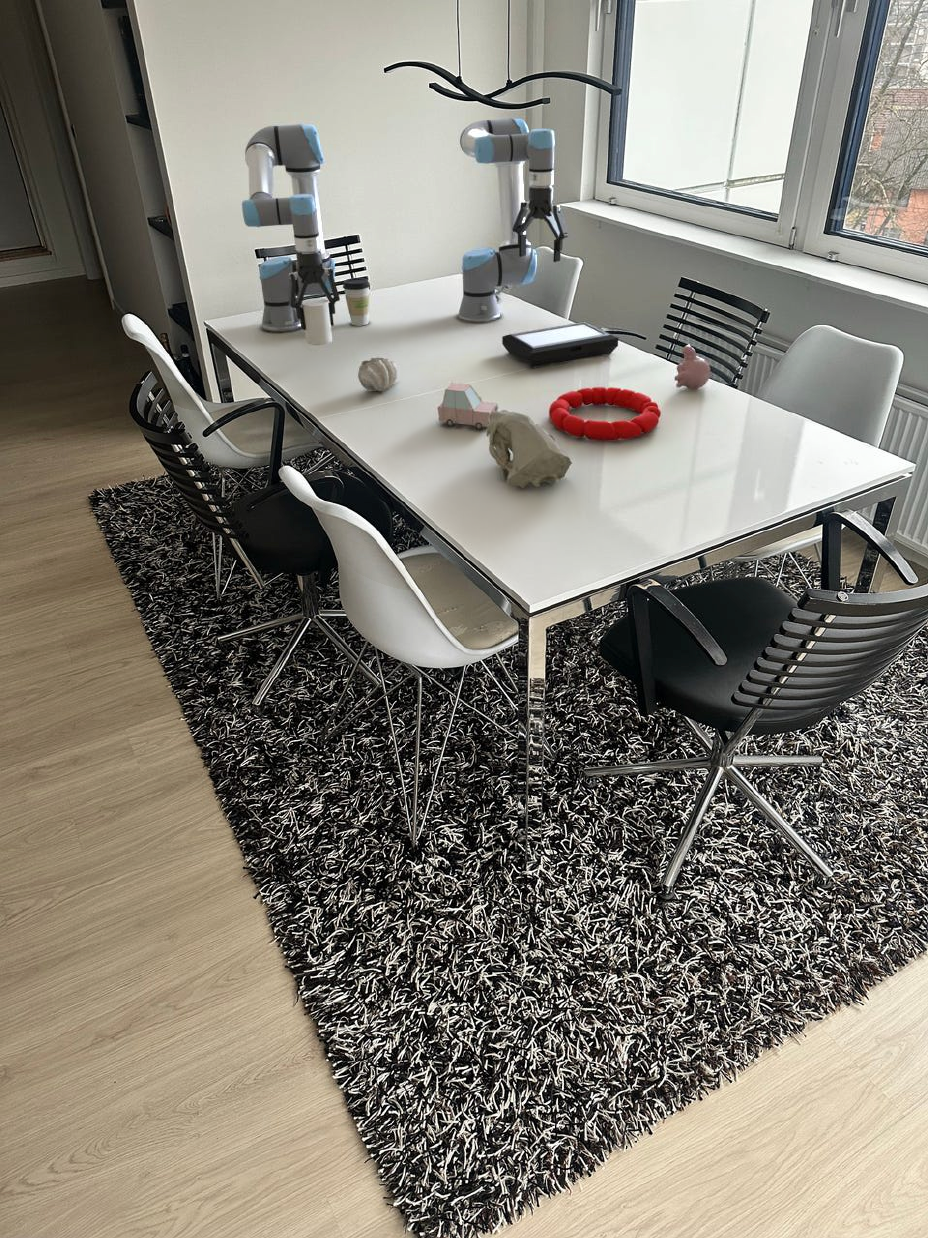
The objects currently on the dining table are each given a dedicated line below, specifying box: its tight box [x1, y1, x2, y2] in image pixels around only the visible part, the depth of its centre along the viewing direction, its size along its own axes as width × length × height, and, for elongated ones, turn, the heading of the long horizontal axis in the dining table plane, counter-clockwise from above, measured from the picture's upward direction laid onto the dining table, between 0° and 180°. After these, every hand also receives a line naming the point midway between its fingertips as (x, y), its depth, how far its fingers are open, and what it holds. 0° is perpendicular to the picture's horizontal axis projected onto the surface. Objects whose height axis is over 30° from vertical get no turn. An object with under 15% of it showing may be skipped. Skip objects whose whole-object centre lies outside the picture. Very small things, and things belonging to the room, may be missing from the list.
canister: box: [301, 297, 333, 346], centre depth 281 cm, size 8×8×12 cm
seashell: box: [357, 357, 398, 392], centre depth 266 cm, size 10×15×10 cm
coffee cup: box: [342, 277, 371, 327], centre depth 323 cm, size 10×10×15 cm
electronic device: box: [501, 321, 619, 369], centre depth 290 cm, size 32×6×20 cm
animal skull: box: [485, 409, 573, 489], centre depth 216 cm, size 17×25×20 cm
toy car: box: [437, 382, 499, 431], centre depth 243 cm, size 9×15×10 cm, turn 70°
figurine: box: [674, 344, 711, 390], centre depth 259 cm, size 9×11×12 cm
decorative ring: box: [548, 386, 661, 442], centre depth 242 cm, size 7×30×30 cm
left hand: (317, 326), depth 282 cm, fingers closed on canister, 8 cm apart
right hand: (539, 258), depth 287 cm, fingers open, 13 cm apart
